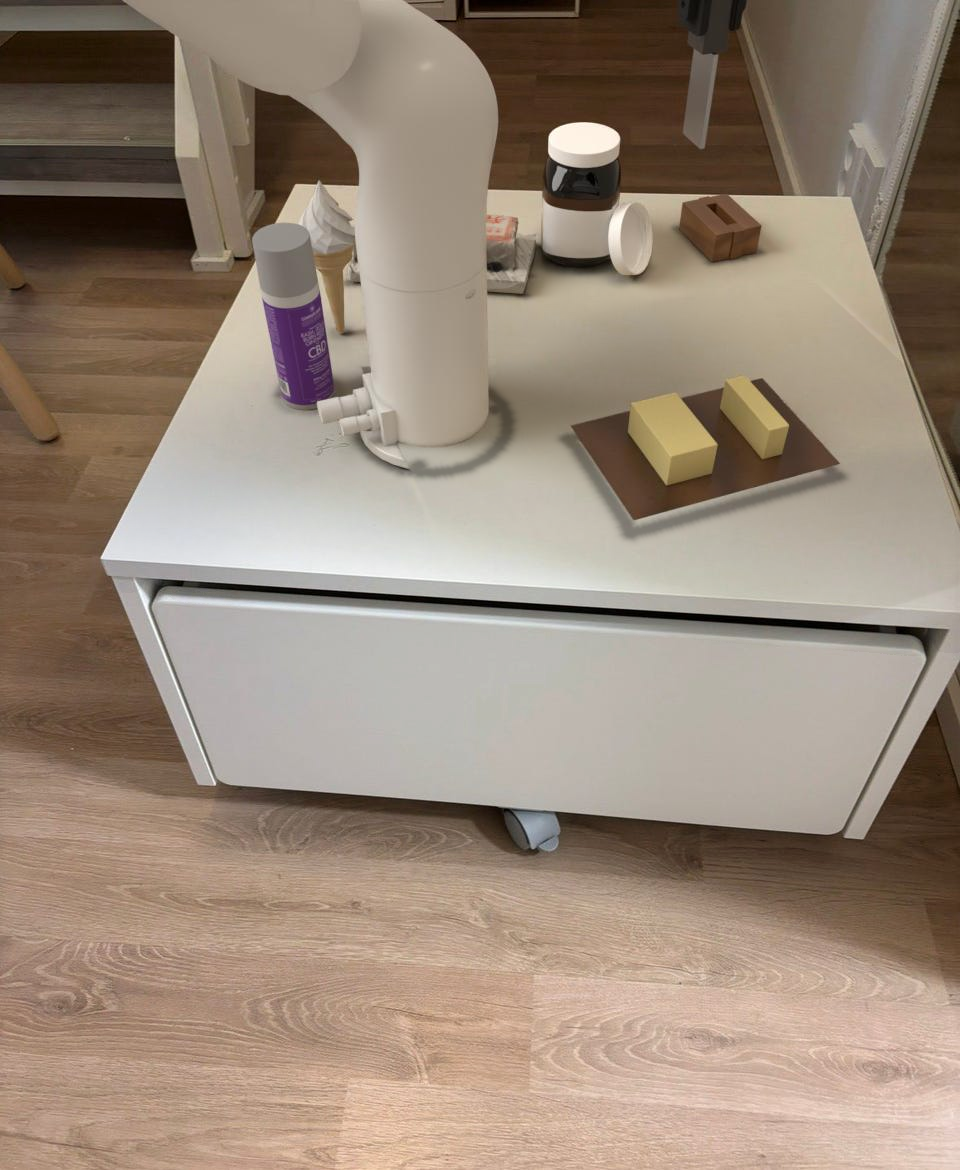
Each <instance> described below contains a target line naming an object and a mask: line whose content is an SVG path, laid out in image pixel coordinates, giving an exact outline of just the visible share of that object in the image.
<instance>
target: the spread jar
mask: <svg viewBox="0 0 960 1170" xmlns="http://www.w3.org/2000/svg"><path fill="white" fill-rule="evenodd" d="M547 142H548V143H547V144H548V145H547V146H548V147H547V152H548V155H547V157H546V160H545V162H544V167H543V174H542V187H541V189H542V191H541V192H542V193H541V224H540V244H541V250H542V253H543V255H544V256H545V257H546V258H548V259H549V260H551V261H553V262H555V263H557V264H559V265H563V266H566V267H574V268H581V267H582V268H585V267H592V266H595V265H598V264H602V263H603V262H605V261H607V260H608V259H610V260H611V263H612V266H613V267H614V269H615V270H616V271H617V273H619V274H620V275H622V276H637V275H641V274H642V273H644V271H645V270H646V268H647V267H648V265H649V262H650V260H651V256H652V251H653V244H654V243H653V242H654V237H653V236H654V235H653V232H654V231H653V225H652V220H651V216H650V214H649V211H648V209H647V208H646V207H645V205H644V204H642V202H639V201H629V202H622V203H620V198H621V187H622V186H621V185H622V167H621V162H620V158H619V154H620V147H621V146H620V145H621V136H620V134H619V133H618V132H617V131H616V130H615V129H614V128H611V127H609V126H607V125H605V124H601V123H596V122H586V121H585V122H582V121H581V122H570V123H566V124H563V125H560V126H558V127H556V128H554V129H552V131H551V132H550V133H549V134H548V141H547Z"/></svg>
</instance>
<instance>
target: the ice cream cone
mask: <svg viewBox="0 0 960 1170" xmlns="http://www.w3.org/2000/svg"><path fill="white" fill-rule="evenodd" d="M339 206H340V205H339V202H337V200H336V199H335V198H334V197H333V196H332V195H331V194H330V193H329V192H328V190H327V189H326V187H325V186H324V184H323V183H322V181H321V180H320V179H319V180H318V181H317V184H316V187H315V190H314V192H313V194H312V197H311V199H310V200H309V202H308V203H307V206H306V208H305V210H304V211H303V213H302V215H301V217H300V218H299V220H298V222H297V223H296V224H299V225H301V226H303V227H305V228H306V229H307V230H308V231H309V234H310V239H311V245H312V250H313V256H314V261H315V267H316V270H317V271H318V272H319V273H320V275H321V279H322V282H323V285H324V290H325V293H326V297H327V300H328V304H329V307H330V312H331V314H332V317H333V321H334V325H335V329H336V331H337V334H339V335H343V334H344V332H345V329H346V326H345V325H346V324H345V285H344V269H345V267H346V266H347V265H348V264H350V263H351V260H352V258H353V247H354V245H355V244H356V240H355V226H352V224H351V223H350V222H351V221H353V220H354V218H353V217H352V216H351V215H350V214H349V213H348V212H347V211H346V210H345V209H343V208H341V207H339Z"/></svg>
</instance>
